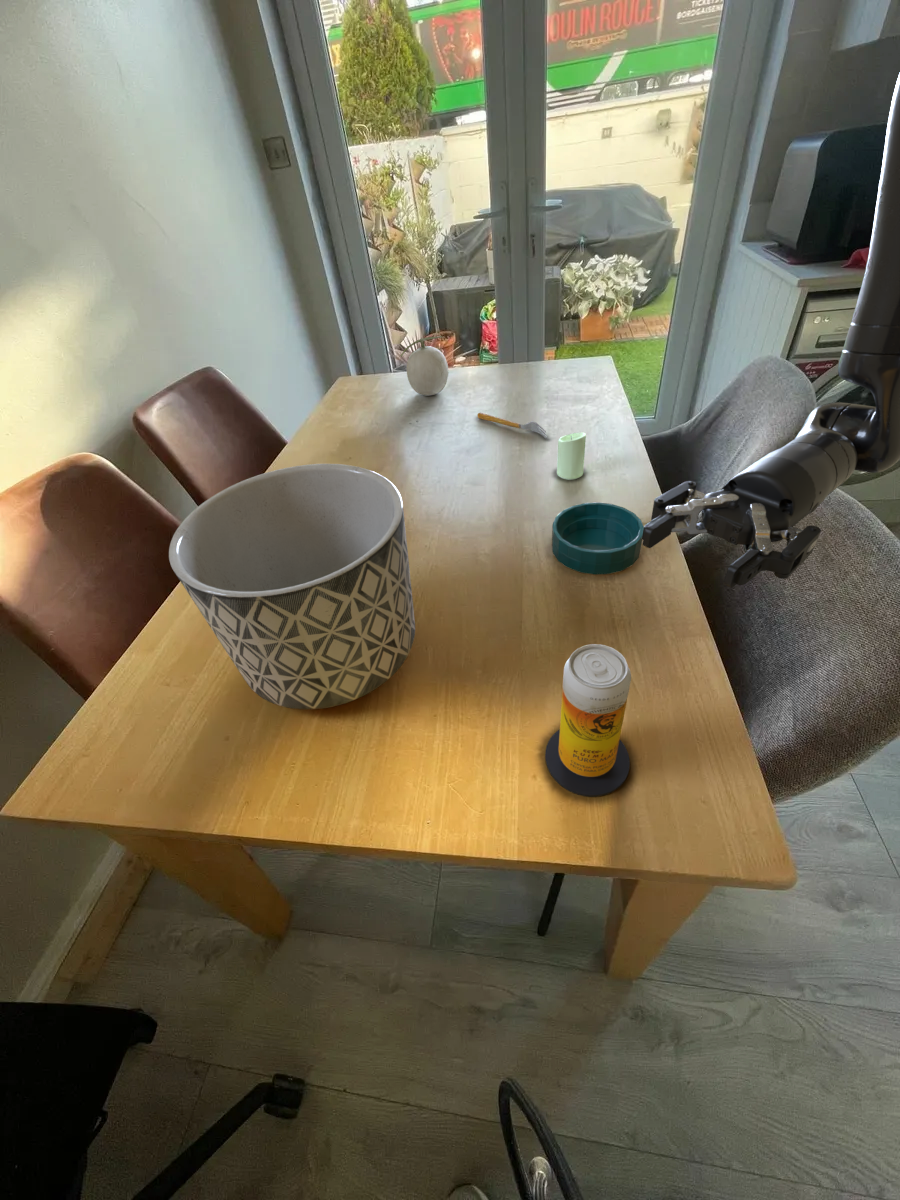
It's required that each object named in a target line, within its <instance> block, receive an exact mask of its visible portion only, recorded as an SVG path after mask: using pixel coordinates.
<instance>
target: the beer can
mask: <svg viewBox="0 0 900 1200" xmlns="http://www.w3.org/2000/svg"><path fill="white" fill-rule="evenodd" d="M631 681H632V672H631V669H630V667H629V664H628V662H627V660H626V658H625V656H624V655H623V654H622V653H621V652H619V651H618V650H617V649H615V648H614V647H611V646H608V645H605V644H597V643H591V644H586V645H583V646H580V647H578V648H576V649H575V650H574V651H573V652H572V653H571V654H570V656H569V658H568V659H567V660H566V662H565V664H564V667H563V677H562V693H561V705H560V706H561V707H560V723H559V729H560V735H559V756H560V758H561V760H562V762H563V764H564V765H565V766H566V767H567V768H568V769H569V770H571V771H572V772H574V773H576V774H578V775H581V776H586V777H595V776H600V775H603V774H605V773H606V772H608V771H609V770H610V769H611V768H612V767H613V765H614V763H615V760H616V755H617V750H618V745H619V739H620V740H621V733H622V729H623V724H624V719H625V714H626V708H627V703H628V698H629V693H630V688H631Z"/></svg>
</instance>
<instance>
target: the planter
mask: <svg viewBox="0 0 900 1200" xmlns="http://www.w3.org/2000/svg"><path fill="white" fill-rule="evenodd" d="M168 560H169V563H170V567H171V569H172V570H173V572H174V574H175V575H176V577H177V579H178V580H179V582H180V583H181V584H182V586H183V588H184V589H185V591H186V593H188V595H189V597H190V598H191V600H192V601H193V603H194V604H195V606H196V608H197V609H198V610H199V612H200V614H201V615H202V617H203V618H204V620H205V622H206V623H207V624H208V627H209V628H210V629H211V631H212V632H213V634H214V636H215V637H216V638H217V641H219V643H220V644H221V646H222V647H223V649H224V650H225V652H226V654H227V655H228V657H229V658H230V660H231V661H232V663H233V665H234V666H235V667H236V669H237V670H238V672H239V673H240V676H241V677H242V678H243V680H244V681H245V683H246V684H247V685H248V687H249V689H251V690H252V691H253V692H254V693H255V694H256V695H257V696H259V697H260V698H261V699H263V700H265V701H267V702H268V703H271V704H273V705H277V706H280V707H283V708H287V709H291V710H292V709H293V710H306V711H307V710H322V709H328V708H333V707H338V706H341V705H344V704H347V703H350V702H353V701H356V700H357V699H360V698H362V697H365V696H366V695H369V694H370V693H371V692H373V691H375V690H377V689H378V688H379V687H381V686H383V684H385V683H386V682H387V681H389V680H390V678H393V676H394V675H395V674H396V673H397V672H398V671H399V669H400V668H401V667H402V666H403V664H404V663H405V661H406V660H407V658H408V656H409V654H410V652H411V650H412V648H413V645H414V642H415V636H416V621H415V620H416V619H415V618H416V617H415V609H414V601H413V600H414V599H413V590H412V580H411V572H410V571H411V570H410V559H409V551H408V541H407V530H406V521H405V511H404V504H403V498H402V495H401V492H400V491H399V489H398V488H397V487H396V485H395V484H394V483H393V482H392V481H391V480H389V479H388V478H386V477H385V476H384V475H381V474H380V473H377V472H375V471H374V470H371V469H368V468H364V467H360V466H356V465H350V464H343V463H311V464H310V463H309V464H302V465H294V466H289V467H284V468H278V469H275V470H271V471H267V472H264V473H261V474H258V475H255V476H252V477H249V478H246V479H244V480H241V481H240V482H237V483H234V484H232V485H230V486H228V487H226V488H225V489H223V490H221V491H219V492H217V493H216V494H214V495H213V496H211V497H209V498H207V500H205V501H204V502H202V503H201V504H200V505H198V506H197V507H195V509H194V510H192V512H190V513H189V514H188V515H187V516H186V517H185V518H184V519H183V521H182V522H181V523H180V524H179V526H178V527H177V529H176V530H175V532H174V533H173V535H172V538H171V541H170V543H169V547H168Z"/></svg>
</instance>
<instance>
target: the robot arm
mask: <svg viewBox="0 0 900 1200" xmlns="http://www.w3.org/2000/svg"><path fill="white" fill-rule="evenodd" d="M895 83H896V84H895V87H894V91H893V94H892V99H891V103H890V109H889V113H888V114H889V115H888V120H887V127H886V133H885V134H886V135H885V142H884V149H883V157H882V165H881V170H880V171H881V172H880V178H879V183H878V191H877V197H876V204H875V211H874V217H873V224H872V232H871V238H870V243H869V250H868V255H867V261H866V265H865V268H864V269H865V270H864V274H863V277H862V282H861V285H860V290H859V294H858V297H857V301H856V305H855V307H854V310H853V314H852V318H851V320H850V325H849V327H848V331H847V334H846V338H845V341H844V345H843V348H842V351H841V355H840V358H839V362H838V366H837V373H838V376H839V378H841V379H842V380H844V381H846V382H848V383H851V384H854V385H856V386H860V387H862V388H865V389H866V390H867V391H869V392H870V394H871V395H872V397H873V400H874V403H875V406H871V405H865V404H859V403H858V404H857V403H848V402H841V401H839V402H838V401H836V402H835V401H833V402H828V403H824V404H821V405H818V406H817V407H815V408H813V410H811V412H810V413H809V414H808V416H807V417H806V419H805V421H804V423H803V425H802V426H801V429H800V431H799V432H798V433H797V435H796V436H795V438H794V439H792V440H791V441H789V442H788V443H787V444H785V445H784V446H782V447H780V448H778V449H775V450H772V451H771V452H769V453H767V454H766V455H764V456H763V457H761V458H760V459H758V460H757V461H755V462H754V463H752V464H751V465H749V466H748V467H746V468H745V469H743V470H741V471H740V472H739V473H737V474H735V476H733V477H732V478H730V479H729V480H728V481H727V482H726V483H725V484H724V485H723V487H722V488H721V489H720V490H717V491H711V492H709V493H705V492H702V491H700V490H697V485H698V483H697V482H696V481H693V480H686V481H684V482H682V483H681V484H679V485H677V486H675V487H673V488H671V489H670V490H668V491H666V492H664V493H662V494H660V495H659V496H656V497H655V498H654V499H653V504H652V505H653V506H652V510H651V518H650V521H649V522H647V523H646V524H645V525H643V527H644V530H643V537H642V546H643V547H646V548H648V549H652V548H653V547H655V546H657V544H659V543H660V542H662V541H663V540H665V539H666V538H668V537H669V536H671V534H672V533H680V532H681V533H682V532H686V533H687V534H688V535H692V536H693V535H701V534H708V535H711V536H713V537H717V538H720V539H723V540H724V541H726V542H728V543H729V544H732V545H734V546H738V545H740V546H741V545H742V546H743V551H744V553H743V555H741V556H740V557H739V558H737V559H736V560H735V561H734V562H732V563H731V564H730V565H729V566H728V568H727V569H726V572H725V577H724V579H723V585H724V586H727V587H729V588H731V589H733V588H734V587H735V586H736V585H737V586H739V587H740V586H744V585H746V584H747V583H749V582H750V581H752V580H753V579H754V578H755V577H756V576H757V575H758V574H765V572H772V573H773V575H774V577H776V578H778V579H781V580H786V579H788V578H789V577H791V575H792V574H793V573H794V572H795V571H796V570H797V569H798V568H799V567H800V566H801V565H803V563H804V562H805V561H806V560H807V559H808V558H809V557H810V556H811V555H812V553H813V552H814V549H815V547H816V545H817V542H818V540H819V537H820V534H821V532H822V529H821V528H820V527H819V526H817V525H807V526H805V528H804V529H803V530H802V529H801V528H797V527H795V526H796V525H797V524H798V523H800V522H801V521H802V520H804V519H805V518H806V517H807V516H808V515H810V514H813V513H814V511H816V509H818V507H819V506H820V505H821V504H822V503H823V502H824V501H825V499H826V498H827V497H828V496H830V495H831V494H832V493H833V492H835V491H836V490H837V489H838V488H839V487H841V486H842V485H843V484H844V483H845V482H846V481H847V480H849V478H850V477H851V476H852V474H853V473H854V472H855V471H857V472H862V473H863V472H864V473H869V474H870V473H871V474H877V473H882V472H884V471H887V470H889V469H890V468H892V467H893V466H894V465H896V463H898V462H899V461H900V73H899V74H898V77H897V80H896V82H895ZM700 513H701V517H702V518H701V519H702V522H698V520H699V516H700ZM679 516H685V517H684V519H683V520H678V521H677V518H678V517H679ZM783 540H786V544H785V545H786V546H785V547H784V548H783V549H782V551H778V550H774V547H773V543H776V542H777V543H778V542H781V541H783Z"/></svg>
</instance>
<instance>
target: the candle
mask: <svg viewBox="0 0 900 1200" xmlns="http://www.w3.org/2000/svg"><path fill="white" fill-rule="evenodd" d="M586 438H587V433H586V432H574V433H570V434H566V435H563V436H561V437H560V438H559V439H557V456H556V457H557V459H556V475H557V476H558V477H559V478H561V479H563V480H569V481H570V480H576V479H579V478H581V477H582V476H583V475H584V467H585V453H586V442H587V441H586V440H587V439H586Z"/></svg>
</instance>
